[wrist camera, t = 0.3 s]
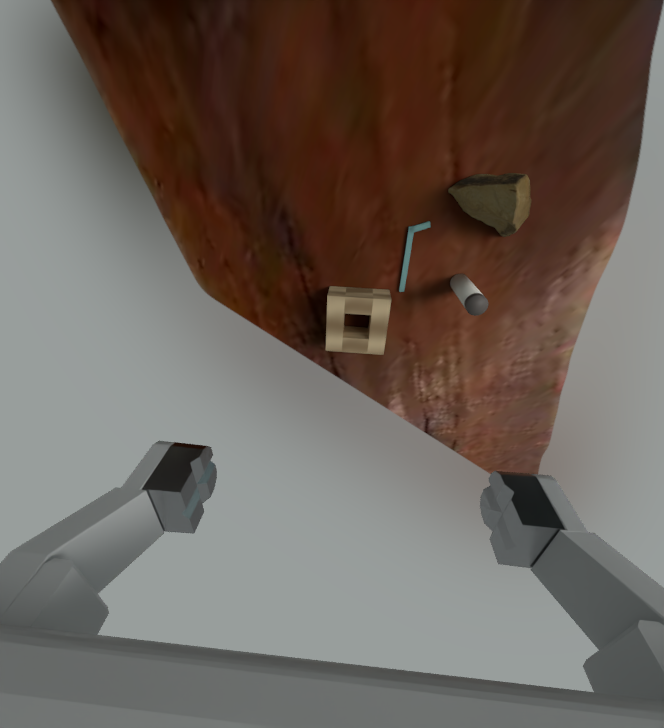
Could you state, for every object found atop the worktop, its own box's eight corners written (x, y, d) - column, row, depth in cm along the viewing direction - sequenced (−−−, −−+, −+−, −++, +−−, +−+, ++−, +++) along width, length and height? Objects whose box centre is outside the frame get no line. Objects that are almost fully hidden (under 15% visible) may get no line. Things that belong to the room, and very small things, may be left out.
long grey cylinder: (452, 273, 52) (469, 295, 43) (469, 274, 52) (490, 296, 43) (448, 289, 53) (464, 314, 45) (465, 290, 53) (484, 316, 45)
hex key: (409, 220, 48) (410, 220, 48) (431, 221, 48) (431, 221, 48) (398, 290, 54) (399, 291, 54) (417, 291, 54) (418, 292, 53)
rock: (546, 227, 45) (544, 149, 39) (528, 260, 41) (523, 179, 36) (468, 236, 53) (457, 172, 47) (447, 265, 49) (432, 199, 43)
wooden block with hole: (329, 286, 54) (327, 295, 51) (389, 289, 54) (391, 299, 50) (328, 338, 60) (325, 350, 56) (382, 342, 59) (383, 354, 56)
